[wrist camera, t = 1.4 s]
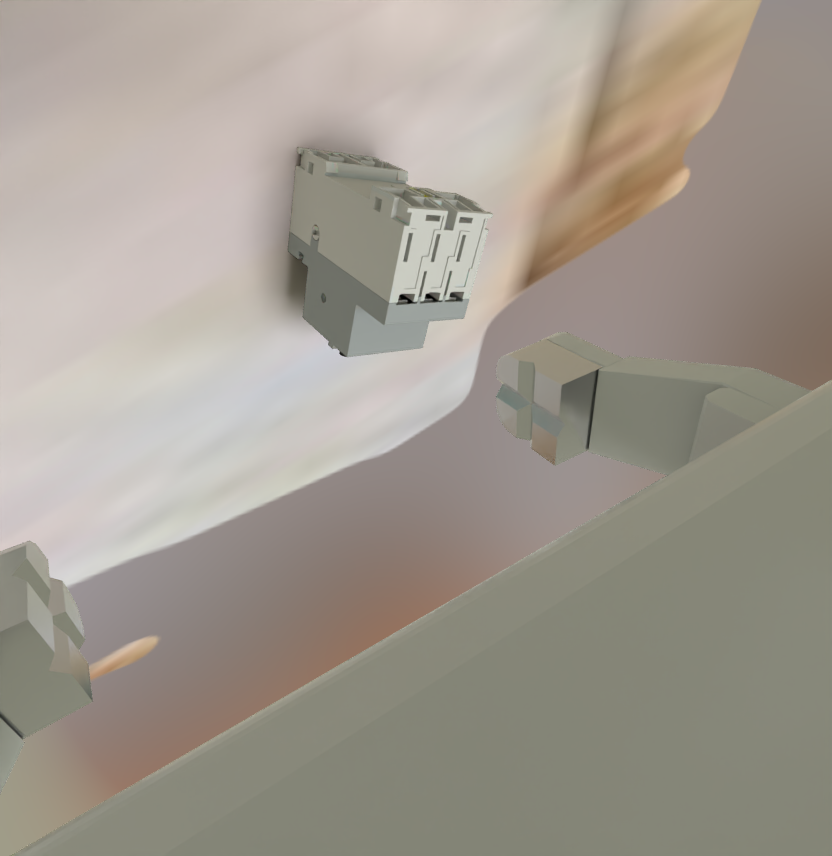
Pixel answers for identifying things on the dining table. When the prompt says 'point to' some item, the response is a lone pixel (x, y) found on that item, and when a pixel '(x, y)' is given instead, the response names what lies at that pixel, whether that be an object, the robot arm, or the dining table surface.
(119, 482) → the dining table surface
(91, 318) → the dining table surface
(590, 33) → the dining table surface
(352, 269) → the circuit breaker
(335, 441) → the dining table surface
